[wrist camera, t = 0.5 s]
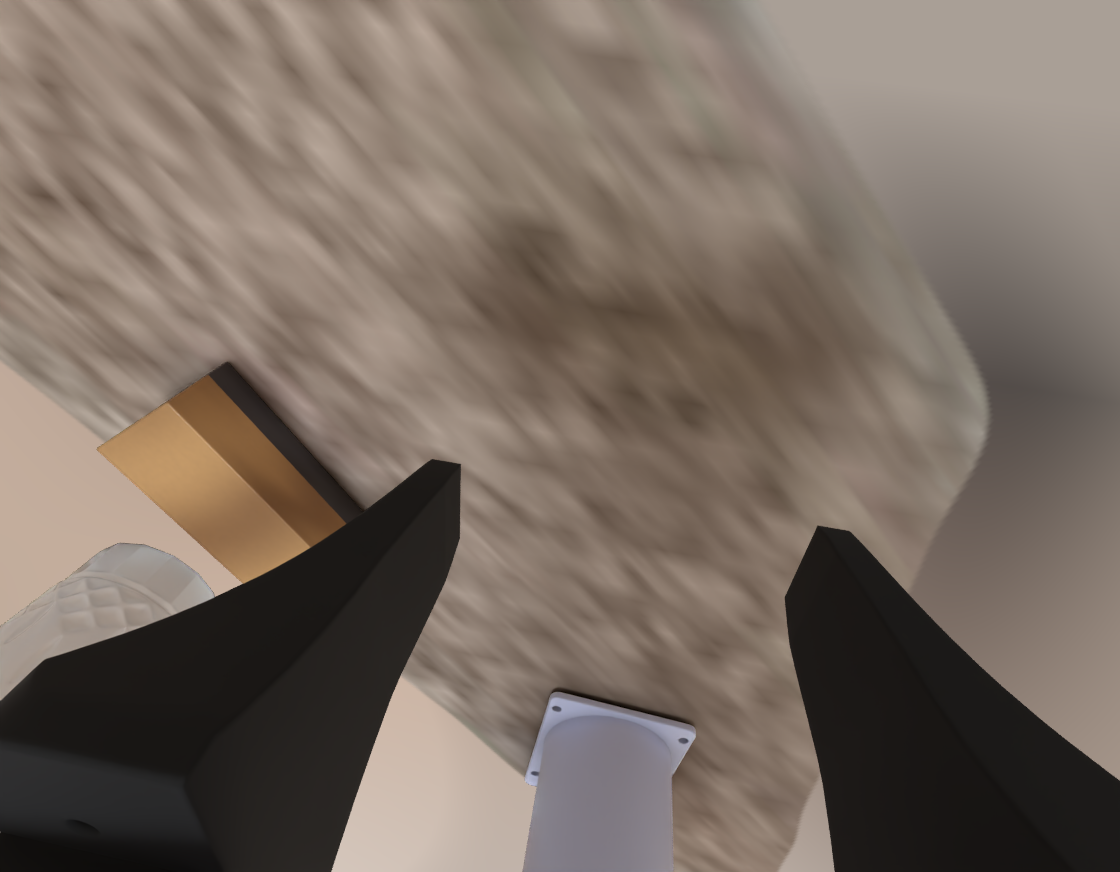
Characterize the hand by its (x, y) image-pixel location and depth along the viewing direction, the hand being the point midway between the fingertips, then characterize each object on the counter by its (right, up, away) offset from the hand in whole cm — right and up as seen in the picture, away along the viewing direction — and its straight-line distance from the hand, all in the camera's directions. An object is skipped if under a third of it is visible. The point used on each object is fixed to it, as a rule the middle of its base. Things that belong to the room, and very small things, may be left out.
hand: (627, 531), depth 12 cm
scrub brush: (-13, 0, +14) cm, 19 cm away
